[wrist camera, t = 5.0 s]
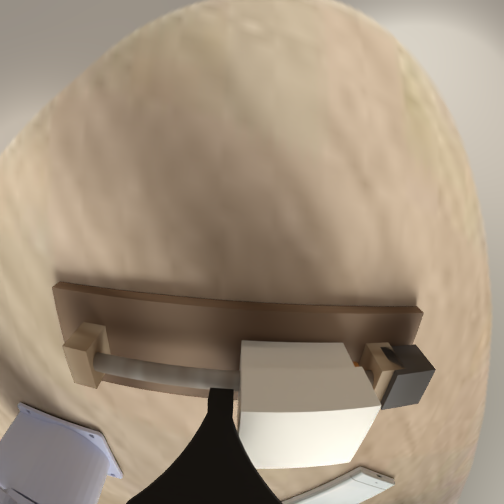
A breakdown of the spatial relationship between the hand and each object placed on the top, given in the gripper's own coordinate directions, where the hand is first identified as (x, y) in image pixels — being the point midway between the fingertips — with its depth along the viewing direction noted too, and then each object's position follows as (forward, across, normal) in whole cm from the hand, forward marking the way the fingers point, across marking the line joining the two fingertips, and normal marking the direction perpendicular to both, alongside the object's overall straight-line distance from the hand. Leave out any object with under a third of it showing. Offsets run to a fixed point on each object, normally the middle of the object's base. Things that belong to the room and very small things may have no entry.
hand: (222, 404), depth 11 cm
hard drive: (+5, -11, +21) cm, 25 cm away
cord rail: (+4, 0, 0) cm, 4 cm away
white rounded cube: (+3, -3, 0) cm, 4 cm away
